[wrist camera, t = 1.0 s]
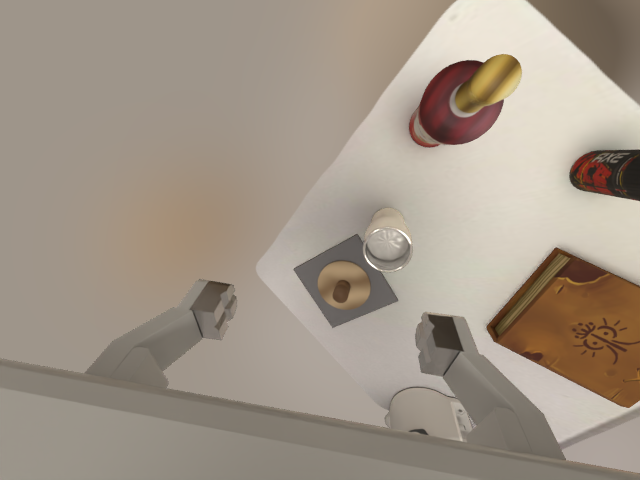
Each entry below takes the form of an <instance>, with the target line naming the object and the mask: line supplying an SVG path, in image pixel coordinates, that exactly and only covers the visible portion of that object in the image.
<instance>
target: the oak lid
mask: <svg viewBox="0 0 640 480" xmlns="http://www.w3.org/2000/svg"><path fill="white" fill-rule="evenodd" d="M370 288H371V285H370V279H369V277H368V275H367V273H366V272H365V271H364V270H363V269H362V268H361V267H360V266H359V265H357V264H355V263H353V262H350V261H344V260H339V261H334V262H332V263H330V264H328V265H327V266H325V267H324V268H323V270H322V271H321V273H320V275H319V278H318V289H319V292H320V294H321V296H322V298H323V299H324V300H325V301H326V302H327V303H328V304H330V305H331V306H333V307H335V308H338V309H343V310H351V309H355V308H358V307H360V306H361V305H363V304H364V303H365V302H366V300H367V299H368V297H369V294H370Z"/></svg>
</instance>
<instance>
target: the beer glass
mask: <svg viewBox="0 0 640 480" xmlns="http://www.w3.org/2000/svg"><path fill="white" fill-rule="evenodd" d="M412 252H413V247H412V237H411V233H410V231H409V229H408V227H407V226H406V224H405V223H404V218H403V216H402V214H401V213H400V212H399V211H397V210H396V209H393V208H383V209H380V210H378V211H377V212H376V213H375V214H374V215H373V217H372V220H371V224H370V225H369V226H368V228H367V230H366V232H365V235H364V241H363V254H364V257H365V259H366V261H367V262H368V264H369V265H370V266H372V267H373V268H374V269H376V270H379V271H382V272H394V271H398V270H400V269H402V268H403V267H404V266H406V265H407V264H408V262H409V261H410V259H411V257H412Z"/></svg>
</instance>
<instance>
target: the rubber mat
mask: <svg viewBox="0 0 640 480" xmlns="http://www.w3.org/2000/svg"><path fill="white" fill-rule="evenodd" d="M339 260H344V261H350V262H353V263H355V264H357V265H359V266H360V267H361V268H362V269H363V270H364V271H365V272H366V273H367V275H368V277H369V279H370V285H371V288H370V294H369V297H368V299H367V300H366V302H365V303H364V304H363V305H361V306H360V307H358V308H355V309H351V310H343V309H338V308H335V307H333V306H331V305H330V304H328V303H327V302H326V301H325V300H324V299H323V298H322V296H321V294H320V292H319V289H318V278H319V275H320V273H321V271H322V270H323V268H324V267H325V266H327V265H328V264H330V263H332V262H334V261H339ZM294 271H295V273H296V274H297V276H298V277H299V278H300V280H301V281H302V283H303V284H304V286H305V287H306V289H307V290H308V292H309V293H310V295H311V296H312V298H313V299H314V301H315V302H316V304H317V305H318V307H319V308H320V310H321V311H322V313H323V314H324V316H325V317H326V319H327V320H328V322H329V323H330V325H331V326H332V328H334V327H336V326H338V325H341V324H343V323H346V322H348V321H350V320H353V319H355V318H358V317H360V316H363V315H365V314H367V313H370V312H372V311H375V310H377V309H380V308H382V307H384V306H387V305H389V304H392V303H394V302H397V301H398V299H397V297H396V296H395V294H394V292H393V291H392V289H391V288H390V286H389V284H388V283H387V281H386V280H385V278H384V276H383V275H382V273H381V271H379V270H376V269H374V268H373V267H372V266H370V265H369V264H368V262H367V261H366V259H365V257H364V254H363V242H362V241H361V239H360V238H359V236H358V234H357V235H355V236H353V237H351V238H349V239H347V240H346V241H344V242H342V243H340V244H338V245H336V246H335V247H333V248H331V249H329V250H327V251H325V252H324V253H322V254H320V255H318V256H316V257H315V258H313V259H311V260H309V261H307V262H305V263H304V264H302V265H300V266H298V267H296V268H294Z"/></svg>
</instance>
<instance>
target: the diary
mask: <svg viewBox="0 0 640 480" xmlns="http://www.w3.org/2000/svg"><path fill="white" fill-rule="evenodd" d="M487 330H488V332H489V334H490V335H491V337H492V339H493V341H494V342H496V343H498V344H500V345H502V346H504V347H506V348H508V349H510V350H511V351H513V352H515V353H517V354H519V355H521V356H523V357H525V358H527V359H529V360H531V361H533V362H535V363H537V364H539V365H541V366H543V367H545V368H547V369H549V370H551V371H553V372H555V373H557V374H559V375H561V376H563V377H565V378H567V379H568V380H570V381H572V382H574V383H576V384H578V385H580V386H582V387H584V388H586V389H588V390H590V391H592V392H594V393H596V394H598V395H600V396H602V397H604V398H606V399H608V400H610V401H612V402H614V403H616V404H618V405H620V406H623V407H627V408H630V407H631V406H633V405H634V404H635V403H637V402H638V401H639V400H640V286H638V285H636V284H633V283H631V282H629V281H627V280H625V279H623V278H621V277H618V276H616V275H614V274H612V273H610V272H608V271H605V270H603V269H601V268H599V267H597V266H595V265H593V264H590V263H588V262H586V261H584V260H582V259H580V258H578V257H575V256H573V255H571V254H569V253H567V252H565V251H562V250H560V249H558V248H555V249H554V250H553V251H552V252H551V254H550V255H549V256H548V257H547V258H546V259H545V260H544V262H543V263H542V264H541V265H540V266H539V267H538V268H537V270H536V271H535V272H534V273H533V274H532V275H531V276H530V278H529V279H528V280H527V281H526V282H525V283H524V284H523V286H522V287H521V288H520V289H519V290H518V291H517V292H516V294H515V295H514V296H513V297H512V298H511V299H510V300H509V302H508V303H507V304H506V305H505V306H504V307H503V308H502V309H501V311H500V312H499V313H498V314H497V315H496V316H495V317H494V319H493V320H492V321H491V322H490V323H489V324H488V325H487Z"/></svg>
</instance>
